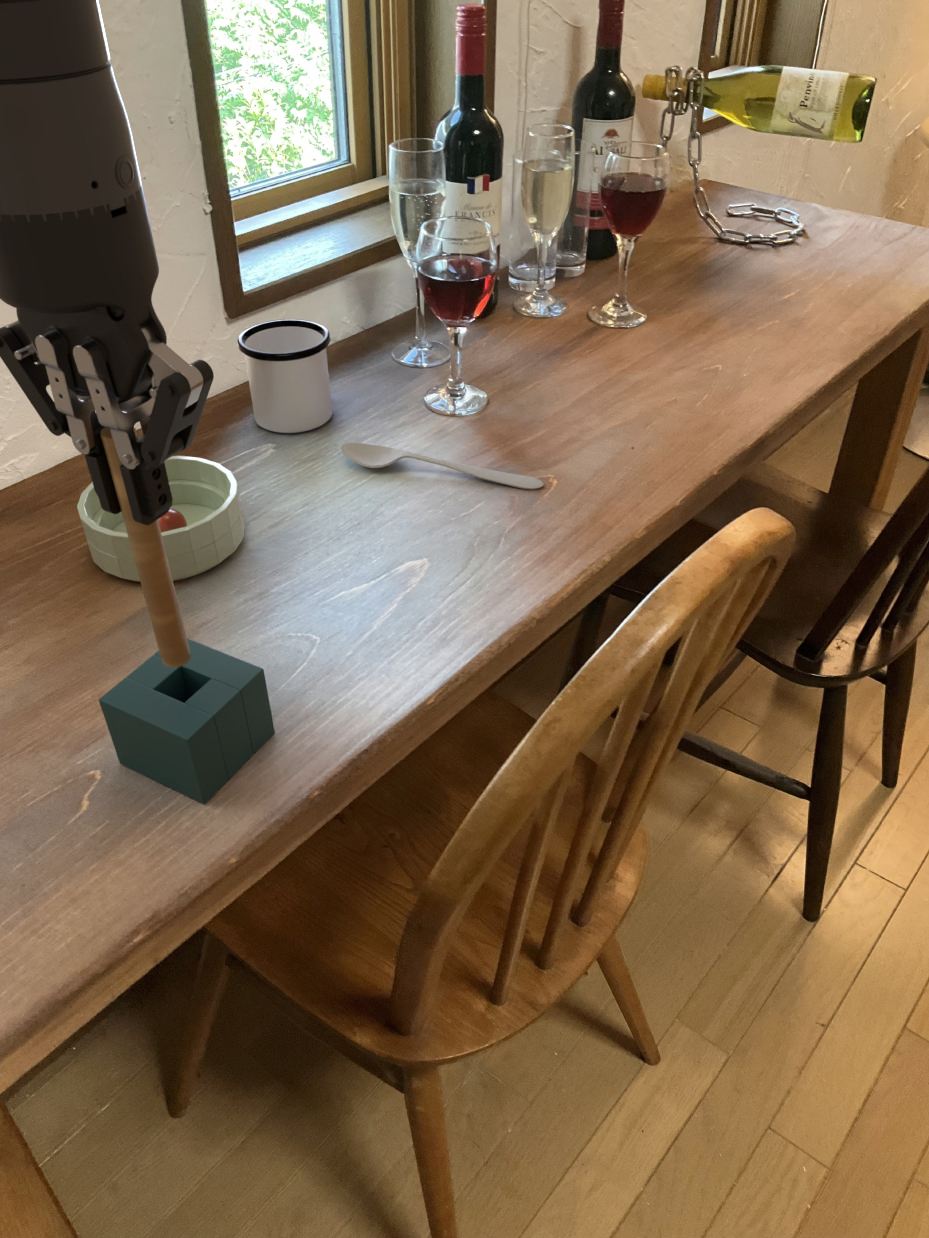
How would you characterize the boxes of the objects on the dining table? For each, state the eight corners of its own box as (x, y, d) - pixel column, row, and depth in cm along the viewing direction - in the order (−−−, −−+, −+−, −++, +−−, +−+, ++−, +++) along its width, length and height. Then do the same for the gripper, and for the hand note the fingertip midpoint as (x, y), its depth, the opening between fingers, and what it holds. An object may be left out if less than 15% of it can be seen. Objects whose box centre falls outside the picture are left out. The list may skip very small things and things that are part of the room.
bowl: (175, 604, 78) (163, 554, 75) (59, 559, 83) (43, 510, 80) (275, 526, 87) (268, 478, 84) (165, 489, 92) (154, 443, 89)
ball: (149, 545, 84) (160, 544, 82) (143, 511, 84) (154, 509, 81) (182, 540, 86) (194, 540, 83) (177, 507, 85) (188, 505, 83)
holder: (204, 805, 62) (187, 740, 58) (119, 763, 65) (98, 699, 61) (275, 732, 67) (263, 668, 63) (193, 697, 70) (178, 633, 66)
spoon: (349, 449, 98) (348, 434, 97) (547, 475, 94) (548, 461, 93) (334, 469, 95) (333, 454, 94) (538, 497, 91) (539, 482, 90)
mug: (310, 444, 99) (300, 361, 93) (232, 428, 102) (218, 346, 96) (363, 396, 108) (357, 317, 102) (290, 382, 110) (280, 305, 105)
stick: (177, 671, 60) (117, 441, 50) (155, 662, 60) (92, 433, 50) (197, 654, 61) (142, 427, 51) (175, 645, 62) (117, 419, 52)
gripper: (-122, 183, 43) (-2, 512, 54) (104, 228, 38) (186, 582, 49) (13, 147, 48) (98, 454, 59) (228, 182, 43) (277, 511, 54)
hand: (137, 510), depth 54 cm, fingers closed on stick, 2 cm apart
